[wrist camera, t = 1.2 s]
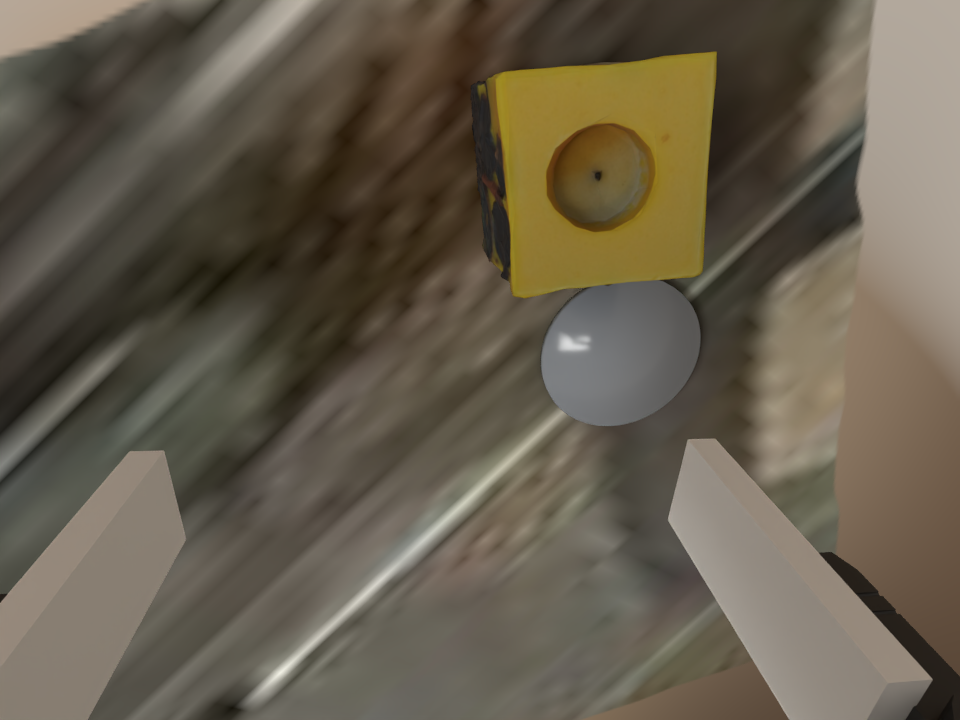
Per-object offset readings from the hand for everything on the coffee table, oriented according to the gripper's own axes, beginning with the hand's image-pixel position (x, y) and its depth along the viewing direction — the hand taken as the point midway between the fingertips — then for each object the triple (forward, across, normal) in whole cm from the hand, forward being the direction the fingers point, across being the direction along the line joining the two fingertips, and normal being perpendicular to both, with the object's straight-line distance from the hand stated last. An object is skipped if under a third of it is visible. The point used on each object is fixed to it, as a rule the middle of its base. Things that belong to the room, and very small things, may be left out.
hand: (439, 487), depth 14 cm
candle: (+24, +8, +6) cm, 26 cm away
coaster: (+23, +14, -7) cm, 28 cm away
